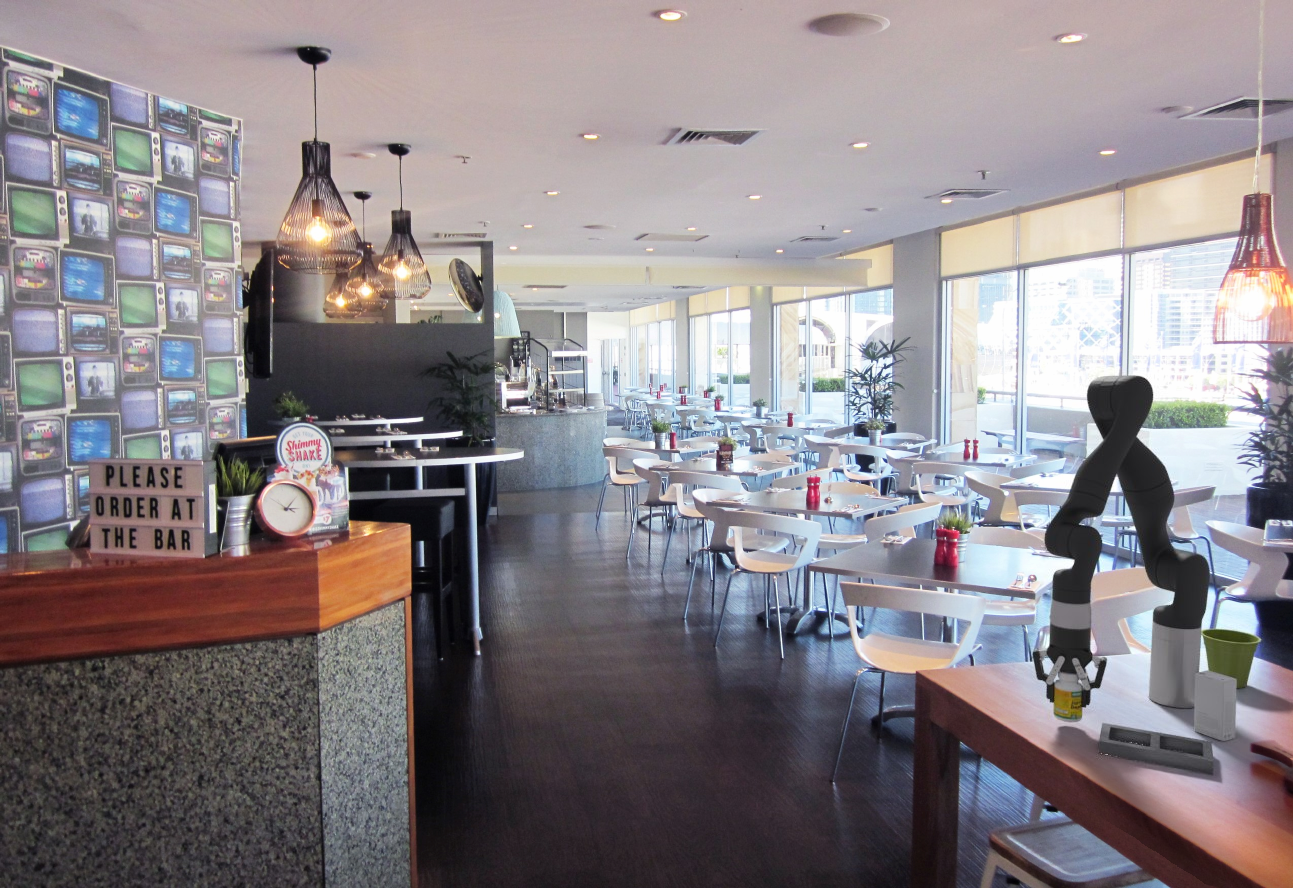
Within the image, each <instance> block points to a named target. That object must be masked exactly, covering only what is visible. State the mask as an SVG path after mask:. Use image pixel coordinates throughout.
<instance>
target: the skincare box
mask: <svg viewBox="0 0 1293 888" xmlns="http://www.w3.org/2000/svg"><path fill="white" fill-rule="evenodd" d="M1236 686H1237V679H1235V678H1232V677H1228V676H1225V675H1222V674H1218V673H1215V672H1212V671H1209V670H1208V669H1207V670H1204V671H1203V670H1202V671H1199V673H1196V674H1195V707H1194V709H1193V710H1194V716H1193V717H1194V718H1193V719H1194V720H1193V722H1194V723H1193V731H1194V732H1196V733H1200V734H1202V735H1204V736H1207V737H1210V738H1212V739H1215V740H1218V741H1221V742H1227V741H1230V740H1234V739H1235V738H1236V721H1237V720H1236V718H1237V717H1236V716H1237V714H1236V713H1237V688H1236Z"/></svg>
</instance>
